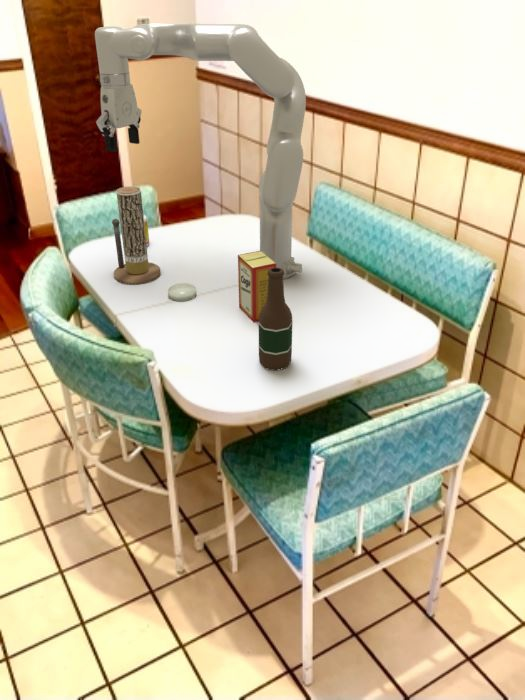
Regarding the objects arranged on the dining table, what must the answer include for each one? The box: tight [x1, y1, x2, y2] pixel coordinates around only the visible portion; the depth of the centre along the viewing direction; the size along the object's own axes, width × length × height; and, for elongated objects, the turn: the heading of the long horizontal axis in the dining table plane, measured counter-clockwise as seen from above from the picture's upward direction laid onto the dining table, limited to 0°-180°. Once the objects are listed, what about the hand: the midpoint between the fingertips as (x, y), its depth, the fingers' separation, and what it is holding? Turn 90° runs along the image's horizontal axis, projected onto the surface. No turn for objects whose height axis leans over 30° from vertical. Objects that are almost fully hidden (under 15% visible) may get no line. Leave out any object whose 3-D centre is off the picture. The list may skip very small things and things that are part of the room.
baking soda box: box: [237, 250, 276, 323], centre depth 169 cm, size 10×6×16 cm
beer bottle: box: [258, 267, 293, 371], centre depth 145 cm, size 8×8×24 cm
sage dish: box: [167, 283, 197, 302], centre depth 182 cm, size 8×8×2 cm
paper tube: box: [115, 186, 149, 275], centre depth 187 cm, size 7×7×25 cm
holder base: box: [111, 218, 162, 286], centre depth 190 cm, size 14×14×17 cm
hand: (123, 147), depth 174 cm, fingers open, 9 cm apart
